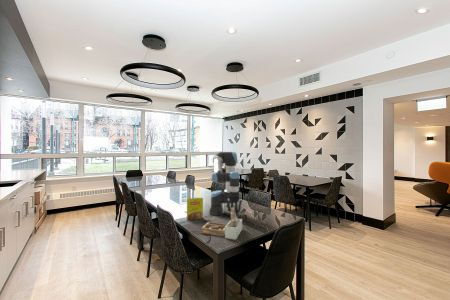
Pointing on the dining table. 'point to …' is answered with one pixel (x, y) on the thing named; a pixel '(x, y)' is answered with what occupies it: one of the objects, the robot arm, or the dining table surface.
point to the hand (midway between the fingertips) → (234, 220)
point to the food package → (194, 208)
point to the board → (233, 217)
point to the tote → (233, 230)
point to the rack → (206, 229)
